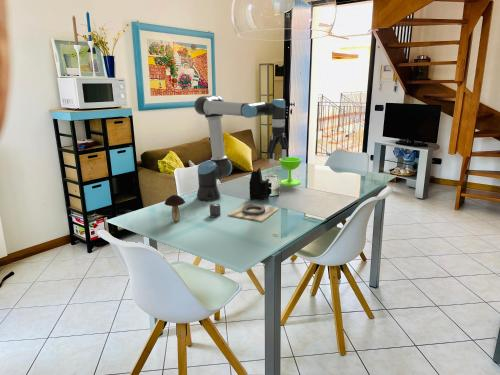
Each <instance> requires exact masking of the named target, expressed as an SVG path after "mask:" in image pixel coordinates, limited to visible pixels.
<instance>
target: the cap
mask: <svg viewBox="0 0 500 375" xmlns="http://www.w3.org/2000/svg"><path fill="white" fill-rule="evenodd" d="M221 214H222V213H221V204H220V203H211V204H209V216H210V217H211V218H218V217H221V216H222V215H221Z"/></svg>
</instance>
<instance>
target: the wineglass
mask: <svg viewBox="0 0 500 375" xmlns="http://www.w3.org/2000/svg"><path fill="white" fill-rule="evenodd" d="M278 161H279V164H280V166H281V167H282V168H283V169H284V170H286V171H288V178H286V179H282V180H280V181H281V185H280V186H283V187H284V186H285V187H296V186H300V185H301V184H302V182H301V181H300V180H298V179H294V178H293V179H292V171H294V170H296V169H298V168H299V166H300V165H301V162H302V158H300V157H295V156H286V160H282V157H280V158H279V159H278Z"/></svg>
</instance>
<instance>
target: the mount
mask: <svg viewBox="0 0 500 375" xmlns="http://www.w3.org/2000/svg"><path fill="white" fill-rule="evenodd" d="M279 210H280V208H279V207H274V206H273V207H272V206H268V205H261V204H254V203H249V202H248V203H247V202H246V203H244V204H243V205H241V206H239V207H238V208H235V209H234V210H233V211H231V212H229V213H228V214H227V216H228V217H232V218H238V219H243V220H250V221H255V222H259V223H263V222H265V221H266V220H268V219H269V218H270V217H271V216H272V215H274V214H275V213H276V212H278V211H279Z"/></svg>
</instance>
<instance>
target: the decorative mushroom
mask: <svg viewBox="0 0 500 375" xmlns="http://www.w3.org/2000/svg"><path fill="white" fill-rule="evenodd" d="M185 203H186V201H185V200H184V198H182V197H181V196H180V195H177V194H173V195H169V197H168V198H166V199H165V202H164V205H165V206H168V207H171V219H172V221H174V222H179V221H180V218H181V213H180V209H179V206H181V205H184V204H185Z"/></svg>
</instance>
